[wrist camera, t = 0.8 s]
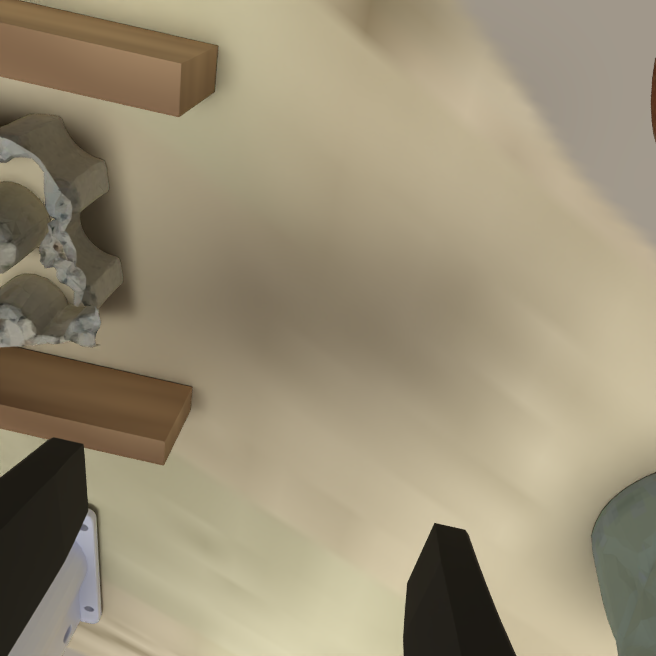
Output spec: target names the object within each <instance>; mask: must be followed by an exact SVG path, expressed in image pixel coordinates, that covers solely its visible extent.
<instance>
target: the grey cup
mask: <svg viewBox="0 0 656 656" xmlns="http://www.w3.org/2000/svg"><path fill="white" fill-rule="evenodd" d="M591 537H592V550H593V557H594V562H595V567H596V571H597V576H598V581H599V586H600V591H601V595H602V600H603V604H604V608H605V611H606V615H607V619H608V622H609V624H610V627H611V630H612V633H613V635H614V637H615V640H616V644H617V651H618V656H656V473H655V474H652V475H650V476H647V477H645V478H643V479H641V480H639V481H637V482H636V483H634V484H632V485H630V486H629V487H627V488H626V489H624V490H623V491H622V492H620V493H619V494H618V495H617V496H616V497H615V498H613V499H612V500H611V501H610V502H609V503H608V505H607V506H606V507H605V508H604V509H603V510H602V512H601V514H600V516H599V517H598V519H597V521H596V524H595V527H594V529H593V532H592V535H591Z"/></svg>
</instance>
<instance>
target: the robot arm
mask: <svg viewBox="0 0 656 656" xmlns="http://www.w3.org/2000/svg"><path fill="white" fill-rule="evenodd" d="M101 615H102V612H101V593H100V575H99V557H98V538H97V520H96V514H95V513H94V512H93V511H92V510H91V509H89V508H88V499H87V485H86V470H85V455H84V444H82V443H78V442H73V441H69V440H64V439H60V438H55V437H53V438H51V439H49V440H47V441H46V442H45V443H44V444H42V445H41V446H40V447H39V448H37V449H36V450H35V451H33V452H32V453H31V454H30V455H28V456H27V457H26V458H25V459H23V460H22V461H21V462H20V463H18V464H17V465H16V466H15V467H13V468H12V469H11V470H9V471H8V472H7V473H6V474H4V475H3V476H2V477H0V656H63V653H64V652H65V650H66V648H67V646H68V644H69V642H70V640H71V638H72V636H73V634H74V632H75V630H76V628H77V626H78V624H79V622H80V621H82V622H86V623H91V624H95V623H98V622H99V620H100V618H101ZM403 649H404V656H516V654H515V652H514V650H513V647H512V645H511V643H510V640H509V638H508V636H507V633H506V631H505V629H504V627H503V624H502V622H501V620H500V617H499V615H498V612H497V610H496V608H495V605H494V603H493V600H492V597H491V595H490V592H489V590H488V587H487V585H486V582H485V579H484V577H483V574H482V571H481V569H480V566H479V563H478V561H477V558H476V555H475V552H474V549H473V546H472V543H471V541H470V538H469V535H468V533H467V532H466V530H463V529H459V528H455V527H450V526H446V525H441V524H437V523H434V525H433V528H432V530H431V532H430V534H429V536H428V539H427V541H426V543H425V545H424V547H423V550H422V552H421V554H420V556H419V558H418V561H417V563H416V565H415V567H414V569H413V572H412V574H411V576H410V578H409V580H408V583H407V592H406V604H405V618H404V633H403Z"/></svg>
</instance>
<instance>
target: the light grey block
mask: <svg viewBox="0 0 656 656" xmlns="http://www.w3.org/2000/svg"><path fill="white" fill-rule="evenodd" d="M651 93H652V94H651V114H652V127H653V134H654V138H655V142H656V58H655V63H654V70H653V77H652V92H651Z"/></svg>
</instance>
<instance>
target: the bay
mask: <svg viewBox="0 0 656 656" xmlns="http://www.w3.org/2000/svg"><path fill="white" fill-rule="evenodd" d="M217 53H218V46H217V45H212V44H208V43H203V42H199V41H195V40H190V39H186V38H182V37H177V36H173V35H168V34H164V33H160V32H155V31H151V30H147V29H142V28H138V27H133V26H129V25H125V24H120V23H116V22H112V21H107V20H103V19H98V18H94V17H90V16H85V15H81V14H76V13H72V12H68V11H63V10H59V9H55V8H50V7H46V6H41V5H37V4H33V3H28V2H24V1H20V0H0V76H1V77H5V78H9V79H14V80H18V81H23V82H27V83H31V84H36V85H40V86H44V87H49V88H53V89H58V90H62V91H66V92H71V93H75V94H80V95H84V96H88V97H93V98H97V99H101V100H106V101H110V102H115V103H119V104H123V105H128V106H132V107H137V108H141V109H145V110H150V111H154V112H158V113H163V114H167V115H172V116H176V117H180V116H181V115H183V114H184V113H185V112H187V111H188V110H190V109H191V108H193V107H194V106H195V105H197V104H198V103H200V102H201V101H202V100H204V99H205V98H207V97H208V96H209V95H211V94H212V93H214V92H215V79H216V66H217ZM191 398H192V387H189V386H185V385H181V384H176V383H172V382H167V381H163V380H159V379H154V378H150V377H145V376H141V375H137V374H132V373H128V372H123V371H119V370H115V369H110V368H106V367H101V366H97V365H93V364H88V363H84V362H79V361H75V360H71V359H66V358H62V357H57V356H53V355H49V354H44V353H40V352H35V351H31V350H27V349H22V348H18V347H0V429H5V430H9V431H14V432H18V433H22V434H27V435H31V436H36V437H40V438H44V439H51V438H53V437H55V438H60V439H64V440H69V441H73V442H78V443H82V444H84V448H89V449H93V450H97V451H102V452H106V453H111V454H115V455H119V456H124V457H128V458H133V459H137V460H141V461H146V462H150V463H155V464H159V465H164V464H165V462H166V460H167V458H168V456H169V454H170V452H171V449H172V447H173V445H174V443H175V441H176V439H177V437H178V435H179V433H180V431H181V429H182V427H183V425H184V423H185V421H186V418H187V416H188V414H189V412H190V410H191Z"/></svg>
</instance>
